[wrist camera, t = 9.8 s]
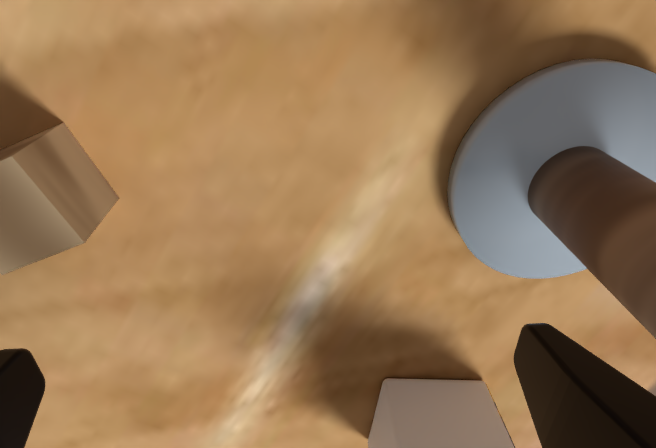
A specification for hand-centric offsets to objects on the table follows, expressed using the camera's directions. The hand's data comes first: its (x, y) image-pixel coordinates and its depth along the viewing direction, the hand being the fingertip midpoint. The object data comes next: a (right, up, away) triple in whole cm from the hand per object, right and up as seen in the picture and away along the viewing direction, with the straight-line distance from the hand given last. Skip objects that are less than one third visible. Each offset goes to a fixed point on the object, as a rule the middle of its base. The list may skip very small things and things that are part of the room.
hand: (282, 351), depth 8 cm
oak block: (-12, +5, +12) cm, 17 cm away
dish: (+12, +5, +13) cm, 19 cm away
